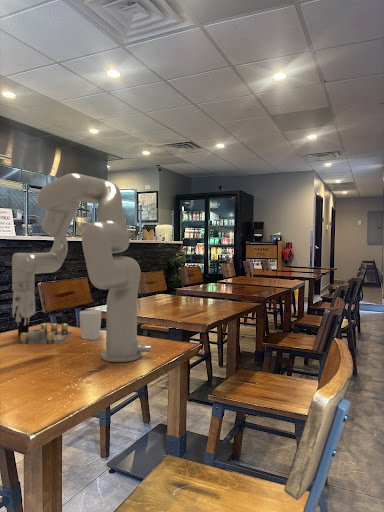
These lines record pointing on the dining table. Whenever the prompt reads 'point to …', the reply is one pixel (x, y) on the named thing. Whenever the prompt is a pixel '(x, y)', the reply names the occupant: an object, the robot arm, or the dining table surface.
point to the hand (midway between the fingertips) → (23, 335)
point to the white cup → (90, 324)
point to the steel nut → (36, 333)
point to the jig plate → (44, 340)
